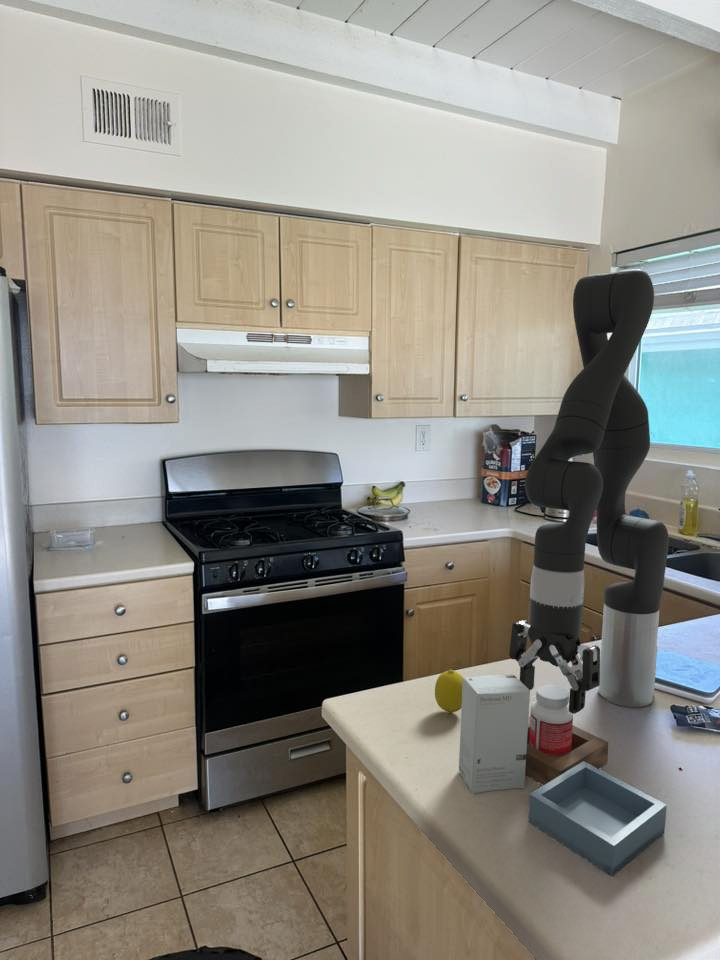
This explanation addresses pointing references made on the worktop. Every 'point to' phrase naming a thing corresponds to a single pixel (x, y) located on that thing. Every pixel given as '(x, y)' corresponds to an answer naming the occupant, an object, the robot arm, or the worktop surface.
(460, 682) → the lemon
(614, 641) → the robot arm
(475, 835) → the worktop surface
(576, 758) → the collar block
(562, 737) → the pill bottle
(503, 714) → the skincare box
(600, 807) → the tray
